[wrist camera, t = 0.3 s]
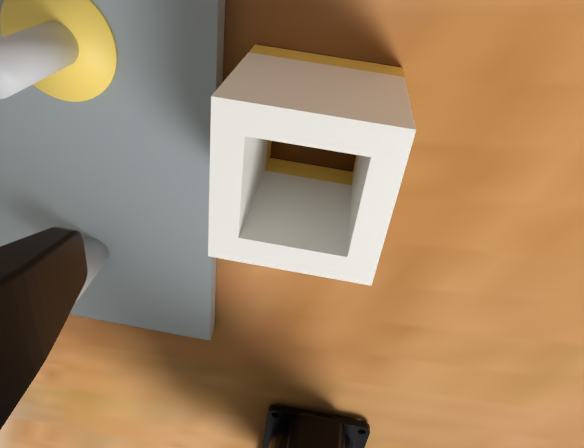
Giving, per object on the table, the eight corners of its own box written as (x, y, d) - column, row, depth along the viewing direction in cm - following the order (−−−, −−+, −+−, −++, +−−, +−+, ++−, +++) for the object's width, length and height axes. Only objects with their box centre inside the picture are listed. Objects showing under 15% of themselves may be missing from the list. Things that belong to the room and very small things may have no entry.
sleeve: (370, 195, 21) (371, 285, 16) (246, 174, 21) (207, 256, 16) (402, 67, 17) (416, 129, 12) (255, 44, 18) (211, 96, 13)
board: (214, 327, 27) (186, 403, 23) (13, 289, 27) (-51, 357, 23) (228, -94, 15) (177, -96, 11) (-118, -144, 16) (-288, -164, 12)
